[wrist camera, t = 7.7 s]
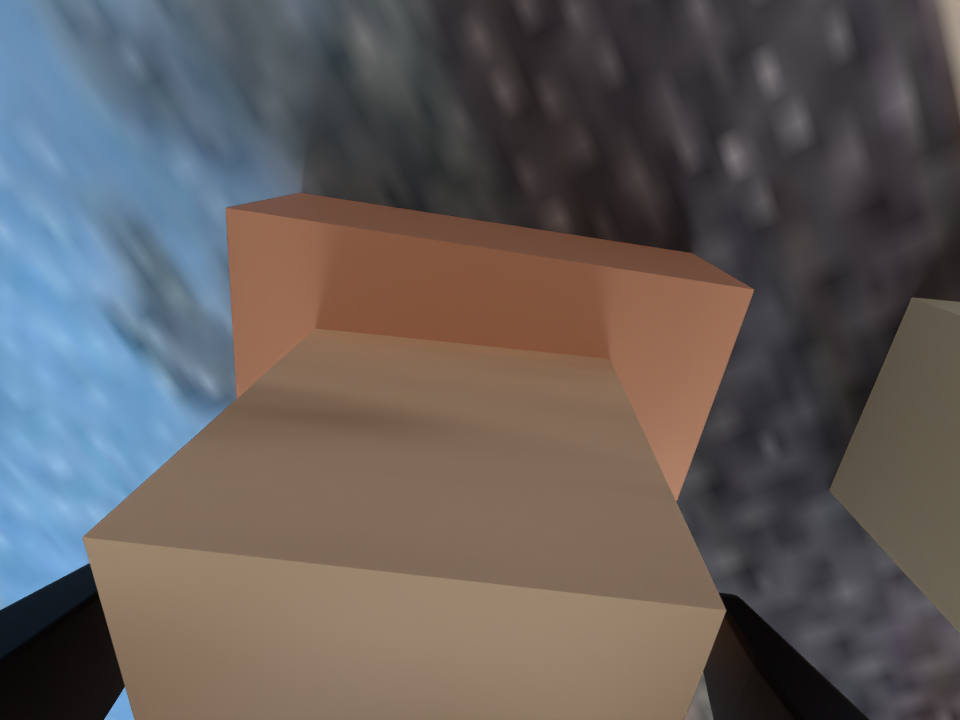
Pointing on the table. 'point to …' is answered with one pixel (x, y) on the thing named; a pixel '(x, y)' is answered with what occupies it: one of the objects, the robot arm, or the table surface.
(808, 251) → the table surface
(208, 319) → the table surface
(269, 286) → the terracotta base block
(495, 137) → the table surface
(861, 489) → the sage green cube
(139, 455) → the table surface
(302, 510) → the maple cube
